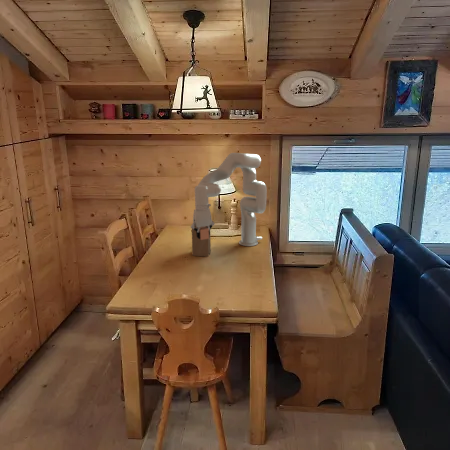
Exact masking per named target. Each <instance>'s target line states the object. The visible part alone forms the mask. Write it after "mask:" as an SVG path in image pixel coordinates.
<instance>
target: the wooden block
mask: <svg viewBox="0 0 450 450" xmlns="http://www.w3.org/2000/svg"><path fill="white" fill-rule="evenodd" d="M194 227H195V228H196V226H194ZM205 227H206V226H205ZM211 243H212V241H211V234H210V235H209V239H204V240H200V239H199V238H197V234H196V231H195V230H194V229H192V228H191V246H192V247H191V251H192V256H193V257H209V255H210V254H211V252H212V251H211V250H212V249H211V245H212V244H211Z"/></svg>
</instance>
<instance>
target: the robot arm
mask: <svg viewBox="0 0 450 450" xmlns="http://www.w3.org/2000/svg"><path fill="white" fill-rule="evenodd" d="M261 163H262V159H261V157H260V155H259V154H255V153H241V152H230V153H229V154H228V155H227V156H226V158H225V159H224V160H223V161H222V162H221V164H220V165H219V166H218V167H217V168H216V169H214V170H212V171H210V172H209V173H207V174H206V175H204V176H203V177H202V179H201V180H200V181H199V183H198V185H196V186H195V187H194V201H195V202H194V203H195V205H194V206H195V209H193V216H192V224H191V226H190V228H191V230H192V229H194V230H195V231H196V234H197V238H199V239H200V232H199V231H200V227H205V226H206V227H207V228H208V229H209V235H210V236H211V229H212V228H213V226H215V222H214V221H213V219H212V213H211V209H210V207H211V203H209V198H214V197H215V198H216V197H217V196H219V195H220V193H221V192H222V191H221V186H220V185H219V184H217V183H216V182H220V181H223V180H227V179H229V178H230V177H231V175H232V174H233V173H234V171H235V170H236V169H237V168H240V169H241V172H242V191H243V192H242V193H244V194H245V195H248V196H243V197H242V198H241V199H240V202H239V207H240V212H241V227H240V228H241V236H240V237H241V240H239V242H238V243H239V245H241V246H245V247H254V246H257V245H258V244H259V242H258V241H259V240H260V241H261V240H263V237H262V236H258V235H257V234H256V232H257V231H256V230H257V215H256V214H263V213H264V212H265V211H266V209H267V197H268V196H267V195H268V190H267V189H268V188H267V185H266V184H265V182H264V181H259V180H257V171H256V169H258V168H259V167H260V166H261ZM194 226H196V228H195V227H194Z"/></svg>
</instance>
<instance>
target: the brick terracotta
mask: <svg viewBox="0 0 450 450" xmlns="http://www.w3.org/2000/svg"><path fill="white" fill-rule="evenodd" d="M199 232H200V240H204V239H209V229H208V228H207V227H200V231H199Z"/></svg>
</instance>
